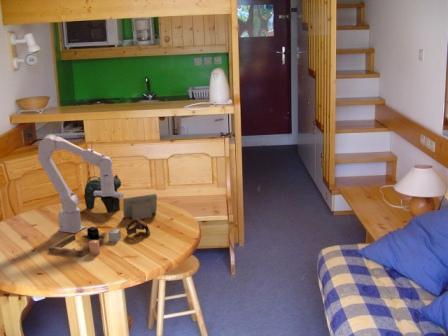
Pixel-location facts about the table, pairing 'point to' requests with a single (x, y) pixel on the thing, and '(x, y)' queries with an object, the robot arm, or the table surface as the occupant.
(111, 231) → the light gray block
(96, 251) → the pinkish-brown rounded block
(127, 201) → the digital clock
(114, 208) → the power drill
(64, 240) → the bay
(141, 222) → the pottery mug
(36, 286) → the table surface
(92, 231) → the black boxy piece
